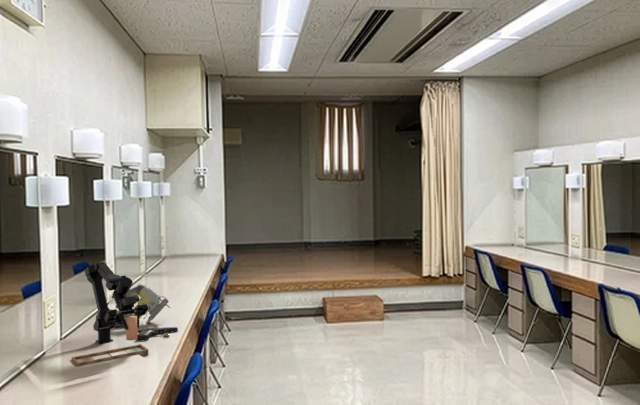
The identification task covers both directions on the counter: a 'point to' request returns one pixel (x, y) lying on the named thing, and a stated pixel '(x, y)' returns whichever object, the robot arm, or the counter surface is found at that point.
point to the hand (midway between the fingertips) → (133, 328)
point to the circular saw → (147, 301)
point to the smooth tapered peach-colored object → (131, 328)
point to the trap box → (130, 351)
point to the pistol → (154, 332)
